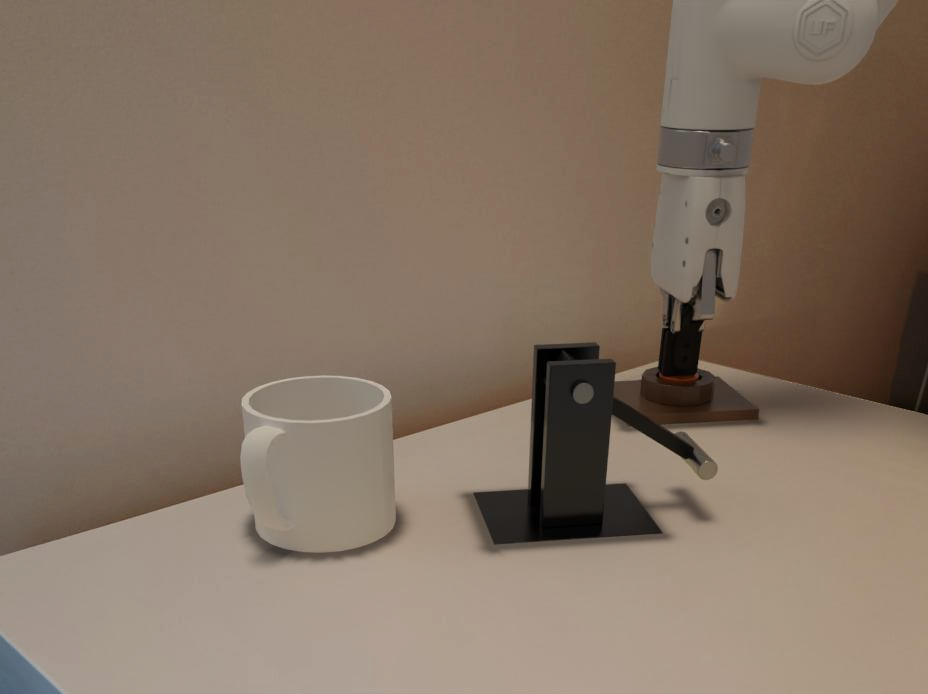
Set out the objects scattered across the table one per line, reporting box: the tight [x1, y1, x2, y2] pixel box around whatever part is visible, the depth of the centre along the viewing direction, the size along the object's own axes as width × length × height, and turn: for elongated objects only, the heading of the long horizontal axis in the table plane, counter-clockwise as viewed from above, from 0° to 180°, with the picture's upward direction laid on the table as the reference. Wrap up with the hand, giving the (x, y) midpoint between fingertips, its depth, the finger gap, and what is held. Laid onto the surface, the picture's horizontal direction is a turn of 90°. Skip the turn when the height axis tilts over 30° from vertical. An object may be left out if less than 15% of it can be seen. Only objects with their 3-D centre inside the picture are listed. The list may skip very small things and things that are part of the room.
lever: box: [543, 350, 719, 481], centre depth 70 cm, size 13×6×2 cm
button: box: [659, 372, 699, 383], centre depth 92 cm, size 4×4×2 cm
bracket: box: [472, 341, 664, 546], centre depth 70 cm, size 12×9×13 cm
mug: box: [239, 374, 397, 554], centre depth 69 cm, size 13×10×10 cm
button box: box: [613, 366, 760, 427], centre depth 93 cm, size 12×10×4 cm
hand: (676, 373), depth 92 cm, fingers closed
